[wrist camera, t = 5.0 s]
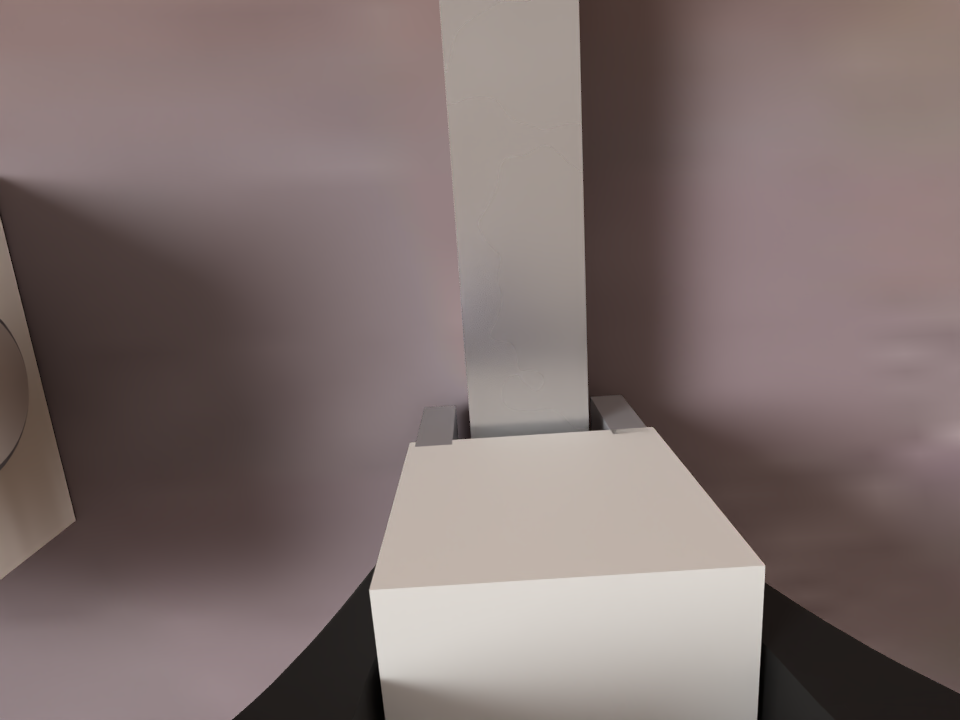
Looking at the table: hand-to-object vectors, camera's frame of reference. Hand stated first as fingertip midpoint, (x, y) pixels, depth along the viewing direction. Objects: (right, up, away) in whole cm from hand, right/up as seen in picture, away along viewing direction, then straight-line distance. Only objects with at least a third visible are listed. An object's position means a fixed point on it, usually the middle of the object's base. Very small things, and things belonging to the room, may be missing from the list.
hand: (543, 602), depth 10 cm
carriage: (0, +1, +3) cm, 3 cm away
